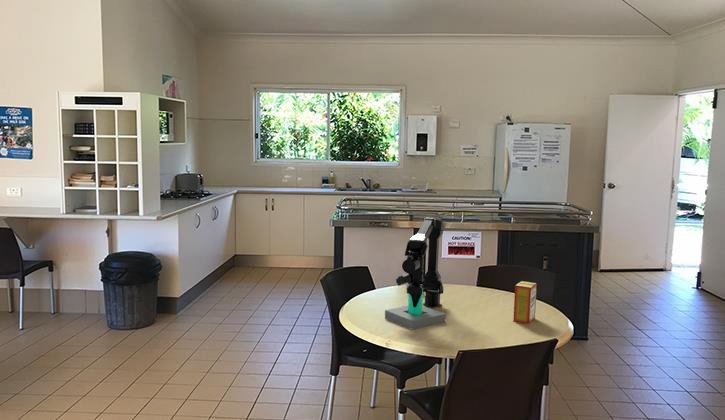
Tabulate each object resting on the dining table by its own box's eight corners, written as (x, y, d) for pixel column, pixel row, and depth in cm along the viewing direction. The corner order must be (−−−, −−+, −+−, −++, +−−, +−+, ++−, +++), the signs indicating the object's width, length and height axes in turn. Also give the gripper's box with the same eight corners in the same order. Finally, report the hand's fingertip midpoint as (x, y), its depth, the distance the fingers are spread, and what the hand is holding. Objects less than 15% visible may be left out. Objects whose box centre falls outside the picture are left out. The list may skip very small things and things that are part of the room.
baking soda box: (528, 324, 245) (530, 286, 243) (513, 321, 248) (515, 284, 246) (534, 318, 253) (536, 282, 251) (519, 316, 256) (521, 280, 254)
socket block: (416, 311, 260) (417, 304, 259) (445, 322, 245) (445, 314, 245) (384, 318, 249) (385, 310, 249) (412, 329, 235) (412, 320, 234)
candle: (421, 310, 250) (421, 283, 249) (423, 315, 244) (424, 286, 243) (407, 310, 250) (407, 283, 248) (408, 315, 244) (409, 286, 242)
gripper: (399, 263, 255) (398, 298, 257) (394, 272, 237) (393, 309, 239) (425, 264, 253) (424, 299, 255) (422, 273, 235) (421, 311, 237)
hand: (415, 304), depth 247 cm, fingers closed on candle, 7 cm apart
